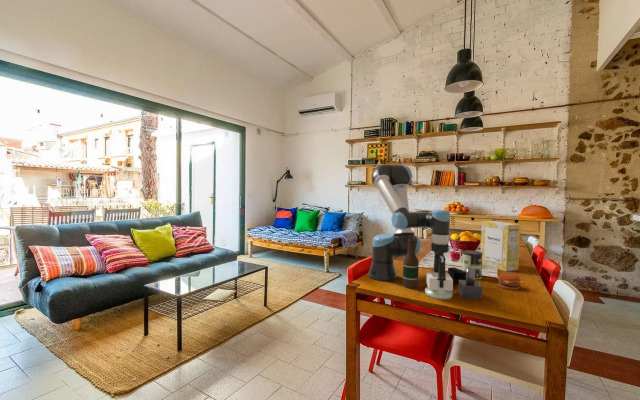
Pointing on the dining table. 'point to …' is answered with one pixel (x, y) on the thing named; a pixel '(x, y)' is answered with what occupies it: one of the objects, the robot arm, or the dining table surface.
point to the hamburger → (509, 281)
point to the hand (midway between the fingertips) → (438, 289)
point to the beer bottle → (410, 267)
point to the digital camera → (456, 274)
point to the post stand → (470, 286)
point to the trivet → (433, 294)
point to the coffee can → (472, 261)
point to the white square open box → (433, 282)
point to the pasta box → (500, 245)
